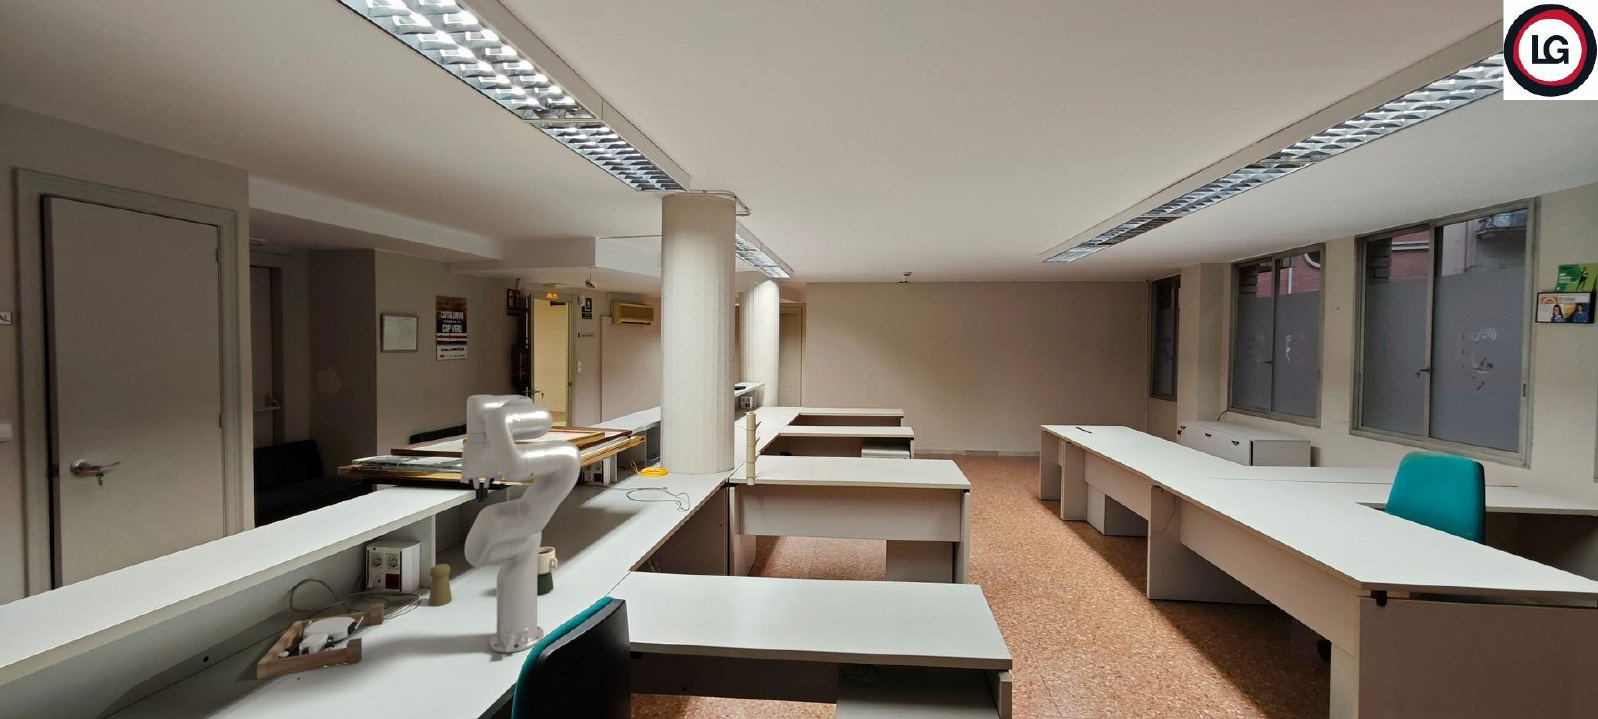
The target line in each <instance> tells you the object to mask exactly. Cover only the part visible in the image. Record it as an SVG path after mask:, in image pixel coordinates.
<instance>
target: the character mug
mask: <svg viewBox="0 0 1598 719" xmlns="http://www.w3.org/2000/svg"><path fill="white" fill-rule="evenodd" d="M557 568H558V558H556V549H555V547H552V546H542V547H541V546H540V549H539V555H538V568H537V595H541V594H546V593H548V592H550V591H553V590H554V580H553V574H552V571H554V570H556V569H557Z"/></svg>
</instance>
